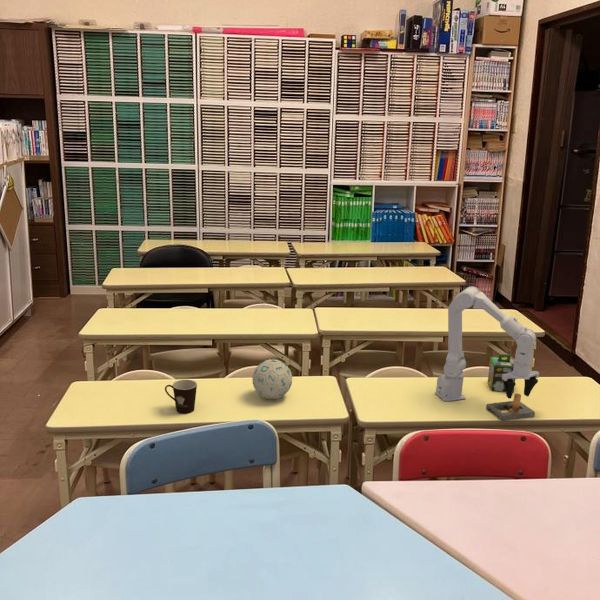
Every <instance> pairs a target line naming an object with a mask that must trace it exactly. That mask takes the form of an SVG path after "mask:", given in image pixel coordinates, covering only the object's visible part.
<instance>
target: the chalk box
mask: <svg viewBox="0 0 600 600" xmlns="http://www.w3.org/2000/svg"><path fill="white" fill-rule="evenodd" d="M514 361H515V359H513V357H512V356H511V354H503V353H502V354H501V353H500V354H498V357H497V356H491V357H490V358H489V365H488V374H487V384H488V386H489V388H490V390H491V391H492V392H505V393H506V389H505V385H504V383H503V380H502V374H506V373H509V372H512V371H513V368H514ZM513 382H514V383H516V379H513ZM514 392H515V388H514V389H513V393H514Z"/></svg>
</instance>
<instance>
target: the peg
mask: <svg viewBox="0 0 600 600" xmlns="http://www.w3.org/2000/svg"><path fill="white" fill-rule="evenodd" d="M521 398H522V394H520V393H514V396H513V400H512V401H513V407H511V408H508V409H509V410H508V412H514V410H517V409H520V408H519V407H520V402H521Z"/></svg>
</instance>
